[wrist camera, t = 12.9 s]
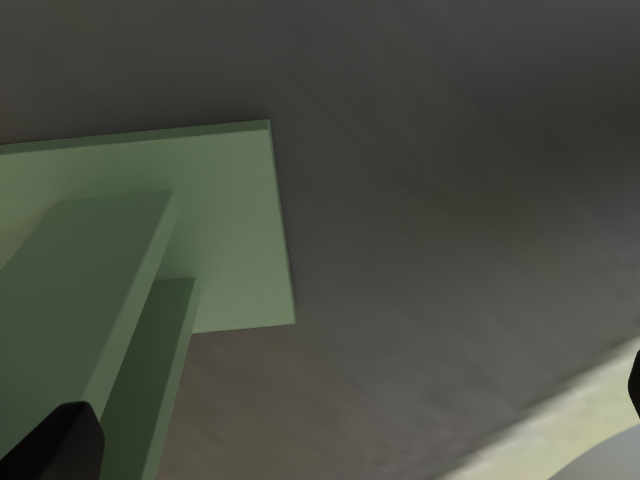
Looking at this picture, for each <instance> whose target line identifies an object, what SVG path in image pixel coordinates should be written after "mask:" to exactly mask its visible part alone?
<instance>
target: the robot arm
mask: <svg viewBox="0 0 640 480" xmlns="http://www.w3.org/2000/svg"><path fill="white" fill-rule="evenodd" d="M628 392H629V396H630V398H631V400H632V403H633V405H634V407H635V409H636V411H637V413H638V416H639V418H640V350H639V351H638V352H637V355H636V358H635V361H634V364H633V367H632V371H631V374H630V377H629V380H628ZM104 448H105V436H104V432H103V430H102V428H101V425H100V423H99V421H98V419H97V417H96V414H95V412H94V410H93V408H92V406H91V404H90V403H89V402H87V401H75V402H65V403H62V404H60V405H59V406H58V407H56V408H55V409H54V410H53V411H52V412H51V413H50V414H49V415H48V416H47V417H46V418H45V419H43V420H42V421H41V422H40V423H39V424H38V425H37V426H36V427H35V428H34V429H33V430H32V431H31V432H30V433H29V434H27V435H26V436H25V437H24V438H23V439H22V440H21V441H20V442H19V443H18V444H17V445H16V446H15V447H14V448H12V449H11V450H10V451H9V452H8V453H7V454H6V455H5V456H4V457H3V458H2V459H1V460H0V480H99V476H100V471H101V465H102V460H103V454H104Z"/></svg>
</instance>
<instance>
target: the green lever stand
mask: <svg viewBox="0 0 640 480" xmlns="http://www.w3.org/2000/svg"><path fill="white" fill-rule="evenodd" d="M295 322H296V309H295V300H294V293H293V285H292V278H291V271H290V264H289V256H288V249H287V242H286V234H285V227H284V220H283V213H282V205H281V198H280V191H279V184H278V176H277V169H276V162H275V154H274V147H273V140H272V133H271V125H270V120H269V119H263V120H253V121H242V122H232V123H222V124H211V125H201V126H190V127H180V128H169V129H159V130H149V131H138V132H128V133H117V134H107V135H97V136H86V137H76V138H65V139H55V140H45V141H34V142H24V143H13V144H3V145H0V460H1V459H2V458H3V457H4V456H5V455H6V454H7V453H8V452H9V451H10V450H11V449H12V448H14V447H15V446H16V445H17V444H18V443H19V442H20V441H21V440H22V439H23V438H24V437H25V436H26V435H27V434H29V433H30V432H31V431H32V430H33V429H34V428H35V427H36V426H37V425H38V424H39V423H40V422H41V421H42V420H43V419H45V418H46V417H47V416H48V415H49V414H50V413H51V412H52V411H53V410H54V409H55V408H56V407H58V406H59V405H60V404H62V403H65V402H75V401H87V402H89V403H90V404H91V406H92V408H93V410H94V412H95V414H96V417H97V419H98V421H99V423H100V425H101V428H102V430H103V432H104V436H105V448H104V454H103V460H102V465H101V471H100V476H99V480H156V478H157V474H158V469H159V465H160V461H161V457H162V453H163V449H164V445H165V441H166V437H167V433H168V428H169V424H170V420H171V416H172V412H173V408H174V404H175V400H176V396H177V391H178V387H179V383H180V379H181V375H182V371H183V367H184V363H185V359H186V355H187V350H188V346H189V342H190V338H191V334H192V333H203V332H214V331H224V330H235V329H246V328H256V327H267V326H277V325H288V324H295Z"/></svg>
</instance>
